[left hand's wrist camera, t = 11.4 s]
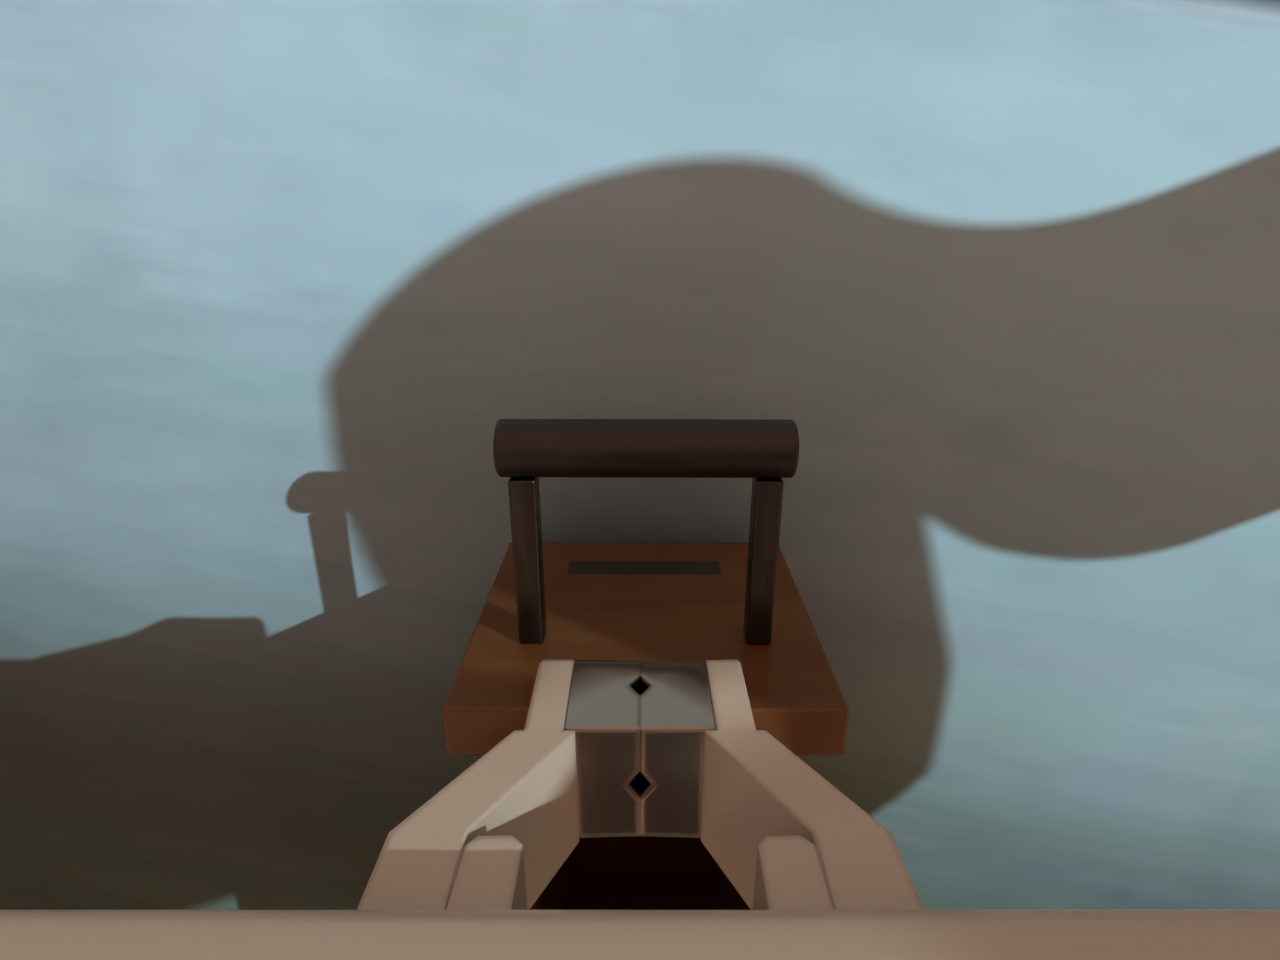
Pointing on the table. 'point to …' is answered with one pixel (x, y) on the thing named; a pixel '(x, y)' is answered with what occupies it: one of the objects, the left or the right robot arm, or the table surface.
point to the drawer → (645, 624)
